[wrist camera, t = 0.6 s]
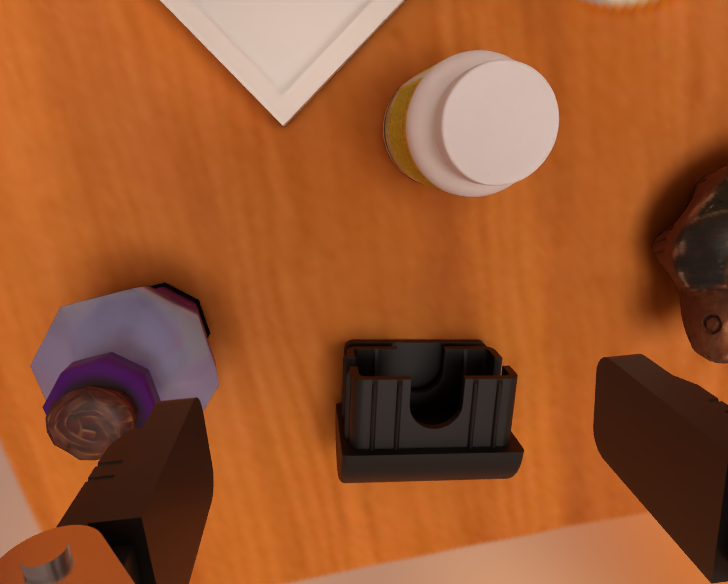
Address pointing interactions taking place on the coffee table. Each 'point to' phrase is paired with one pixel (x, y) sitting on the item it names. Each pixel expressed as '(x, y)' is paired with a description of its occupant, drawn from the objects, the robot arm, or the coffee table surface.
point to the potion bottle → (121, 364)
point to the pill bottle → (471, 124)
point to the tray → (283, 42)
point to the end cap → (425, 412)
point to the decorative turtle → (701, 265)
